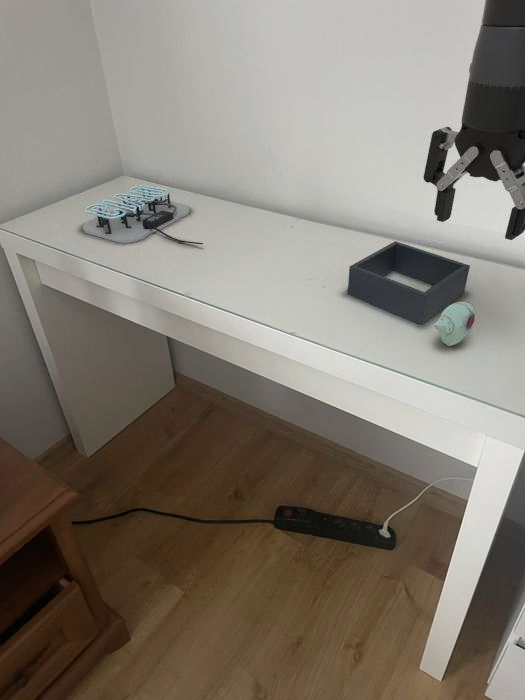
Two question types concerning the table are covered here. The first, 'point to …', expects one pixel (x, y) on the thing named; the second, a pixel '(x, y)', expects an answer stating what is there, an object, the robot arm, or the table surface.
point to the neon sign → (135, 216)
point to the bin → (403, 298)
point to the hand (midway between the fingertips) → (475, 228)
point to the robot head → (455, 322)
